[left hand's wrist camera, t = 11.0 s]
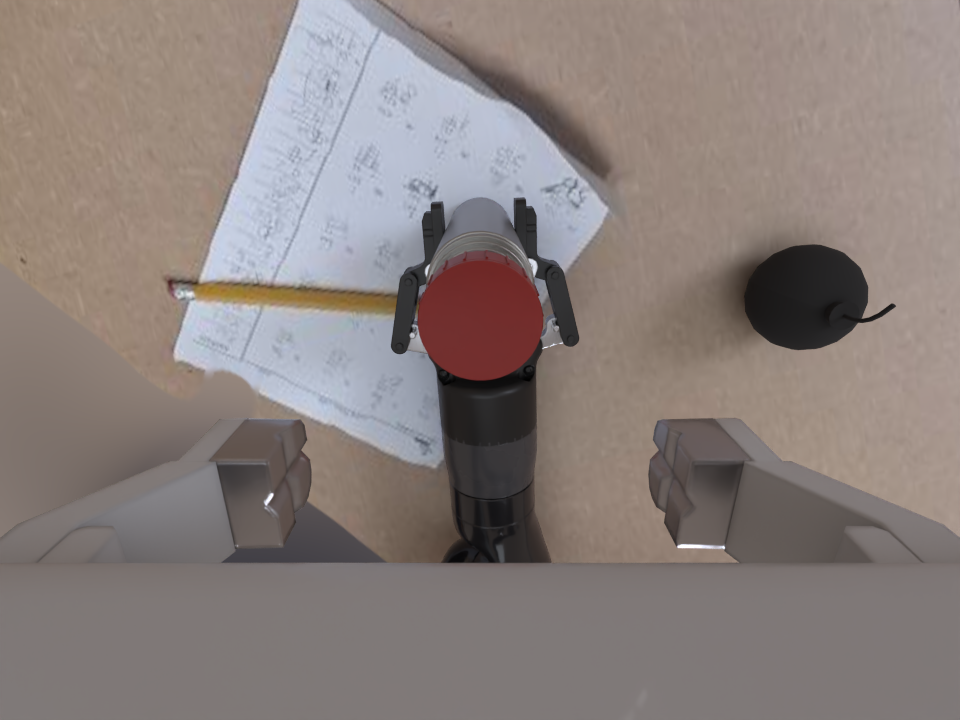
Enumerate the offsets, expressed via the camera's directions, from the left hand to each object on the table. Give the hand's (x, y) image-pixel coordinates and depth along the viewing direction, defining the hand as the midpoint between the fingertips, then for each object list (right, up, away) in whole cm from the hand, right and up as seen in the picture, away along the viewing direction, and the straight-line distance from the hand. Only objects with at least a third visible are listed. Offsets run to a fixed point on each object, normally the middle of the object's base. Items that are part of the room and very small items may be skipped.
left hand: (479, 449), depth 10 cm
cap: (0, +3, +8) cm, 9 cm away
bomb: (+24, +8, +32) cm, 42 cm away
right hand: (0, +12, +24) cm, 27 cm away
